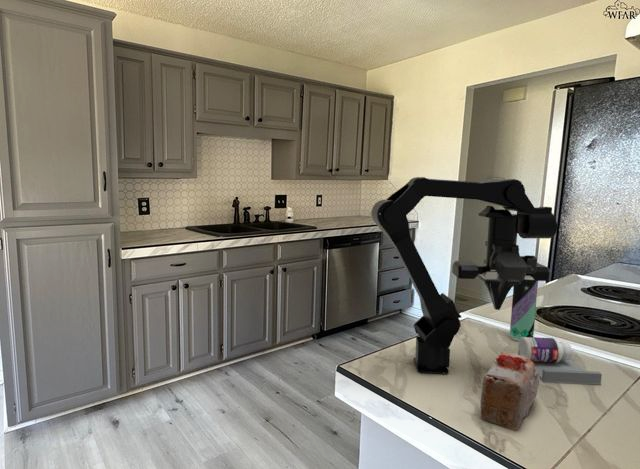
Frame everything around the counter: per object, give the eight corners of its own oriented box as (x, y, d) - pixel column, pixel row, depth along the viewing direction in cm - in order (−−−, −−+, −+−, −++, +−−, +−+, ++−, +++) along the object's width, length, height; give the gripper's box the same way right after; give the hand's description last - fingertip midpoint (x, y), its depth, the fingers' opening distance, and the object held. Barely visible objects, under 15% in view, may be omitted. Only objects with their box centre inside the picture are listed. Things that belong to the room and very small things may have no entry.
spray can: (504, 335, 106) (510, 262, 103) (521, 333, 108) (527, 261, 105) (520, 343, 101) (527, 266, 98) (537, 341, 102) (544, 265, 100)
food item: (494, 386, 79) (497, 339, 78) (539, 399, 75) (543, 349, 74) (475, 419, 68) (479, 364, 67) (527, 436, 64) (532, 378, 63)
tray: (544, 382, 81) (545, 371, 81) (517, 354, 94) (518, 345, 94) (600, 384, 80) (601, 374, 80) (566, 356, 93) (567, 347, 93)
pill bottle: (529, 351, 86) (576, 352, 86) (521, 331, 91) (566, 333, 90) (523, 366, 90) (568, 368, 89) (515, 347, 94) (558, 348, 93)
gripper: (467, 243, 77) (463, 320, 79) (567, 245, 76) (560, 323, 78) (453, 235, 88) (449, 303, 90) (540, 237, 87) (534, 306, 89)
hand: (496, 309), depth 87 cm, fingers closed
